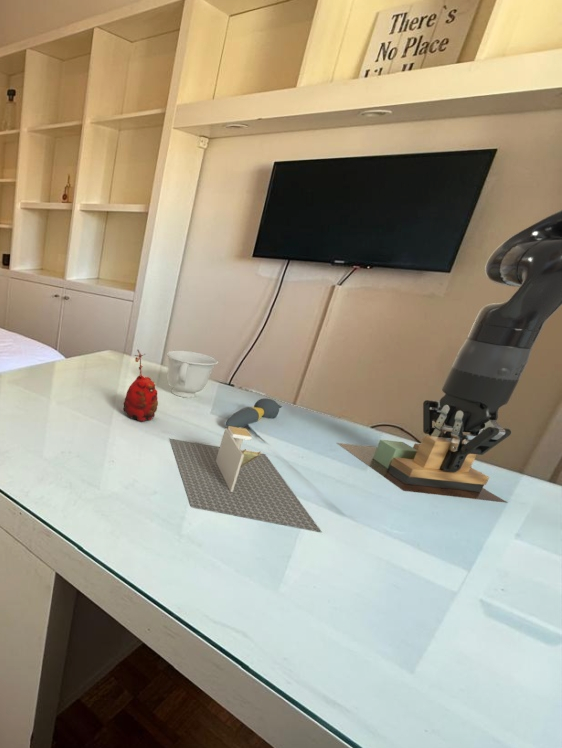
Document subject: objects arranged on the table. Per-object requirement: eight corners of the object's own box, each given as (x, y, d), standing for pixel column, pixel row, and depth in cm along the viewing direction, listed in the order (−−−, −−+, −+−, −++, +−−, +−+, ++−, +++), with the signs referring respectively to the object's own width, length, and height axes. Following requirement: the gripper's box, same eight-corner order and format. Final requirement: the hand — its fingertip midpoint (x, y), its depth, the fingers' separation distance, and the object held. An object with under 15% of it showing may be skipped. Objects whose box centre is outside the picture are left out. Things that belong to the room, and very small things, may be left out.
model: (234, 464, 82) (246, 426, 80) (252, 495, 73) (266, 453, 70) (215, 461, 83) (226, 423, 80) (230, 491, 73) (243, 449, 71)
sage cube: (394, 460, 86) (403, 441, 84) (411, 471, 82) (420, 451, 81) (372, 458, 86) (380, 439, 85) (387, 468, 82) (396, 449, 81)
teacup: (150, 396, 114) (158, 358, 111) (165, 382, 126) (173, 347, 122) (201, 409, 108) (211, 369, 104) (212, 394, 119) (222, 357, 116)
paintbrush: (242, 436, 94) (249, 414, 93) (219, 427, 98) (225, 406, 96) (283, 419, 106) (289, 399, 104) (260, 411, 109) (266, 392, 108)
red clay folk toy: (150, 426, 97) (165, 358, 91) (117, 417, 100) (129, 351, 95) (157, 415, 103) (171, 351, 97) (126, 407, 106) (138, 345, 101)
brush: (458, 479, 80) (478, 438, 78) (481, 492, 76) (503, 450, 74) (386, 471, 81) (404, 431, 79) (405, 484, 77) (424, 442, 74)
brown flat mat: (418, 456, 91) (420, 451, 91) (504, 508, 74) (508, 502, 74) (333, 447, 92) (335, 442, 92) (400, 496, 76) (403, 490, 75)
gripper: (559, 387, 65) (503, 491, 71) (470, 361, 78) (429, 450, 84) (502, 381, 66) (451, 485, 72) (424, 356, 79) (386, 446, 85)
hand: (440, 466), depth 78 cm, fingers closed on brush, 2 cm apart
